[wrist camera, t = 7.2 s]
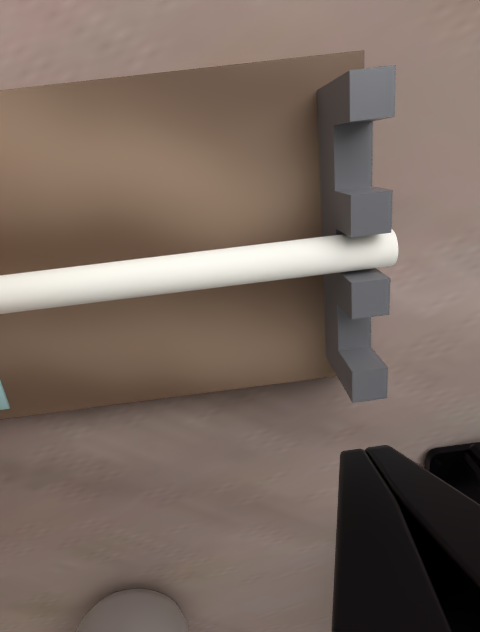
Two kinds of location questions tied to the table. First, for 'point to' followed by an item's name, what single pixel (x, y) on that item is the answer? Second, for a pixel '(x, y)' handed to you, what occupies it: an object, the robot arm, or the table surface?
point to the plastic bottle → (134, 613)
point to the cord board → (162, 229)
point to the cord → (195, 271)
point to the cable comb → (354, 222)
